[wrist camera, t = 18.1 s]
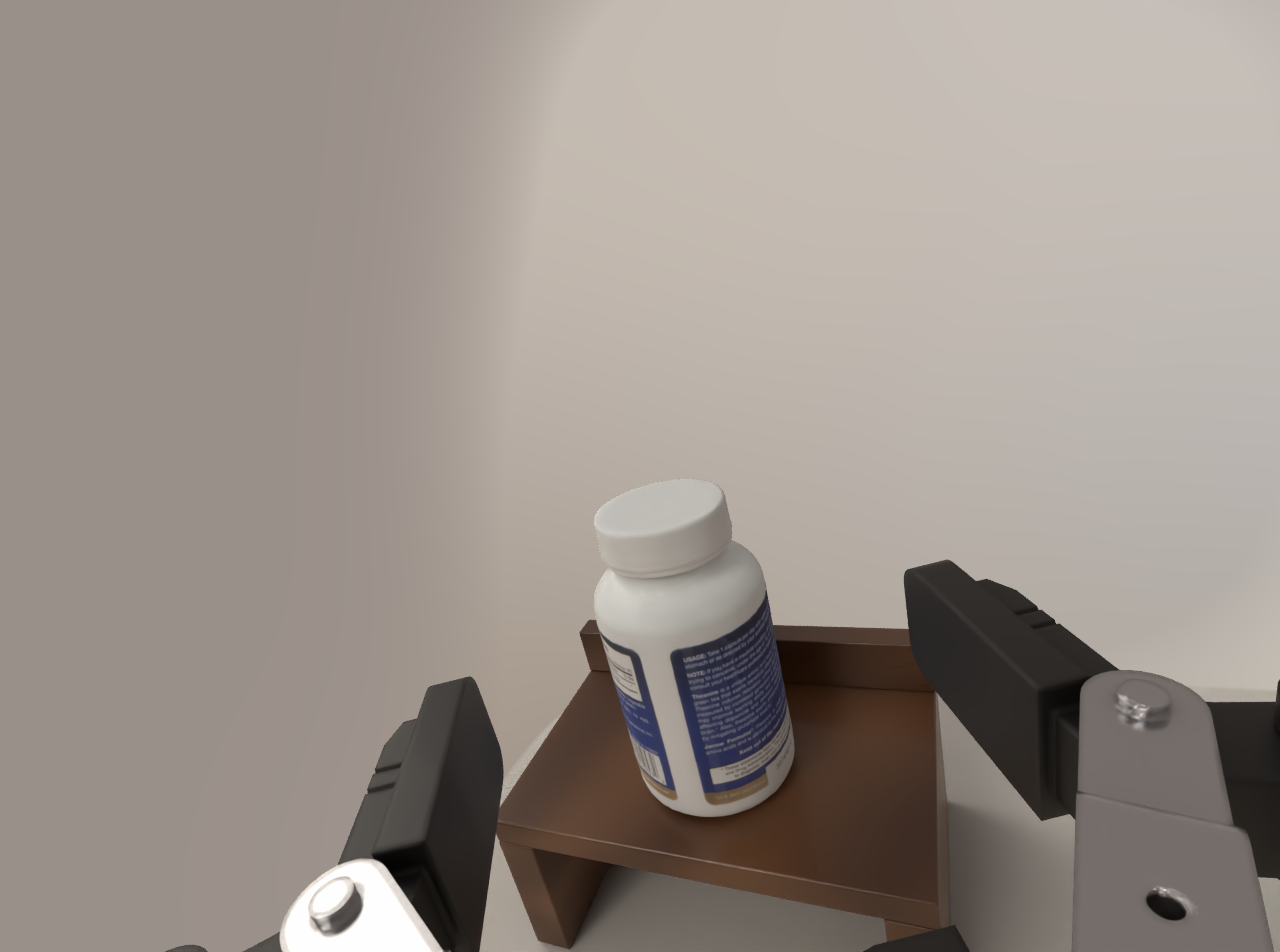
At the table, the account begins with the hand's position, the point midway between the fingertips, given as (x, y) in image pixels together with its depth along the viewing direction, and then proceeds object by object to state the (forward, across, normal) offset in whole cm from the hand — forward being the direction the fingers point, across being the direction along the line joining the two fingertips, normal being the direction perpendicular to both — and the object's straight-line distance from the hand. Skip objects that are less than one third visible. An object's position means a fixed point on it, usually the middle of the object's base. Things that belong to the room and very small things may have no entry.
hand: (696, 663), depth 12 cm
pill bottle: (+8, 0, +10) cm, 13 cm away
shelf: (+9, 0, +16) cm, 18 cm away
